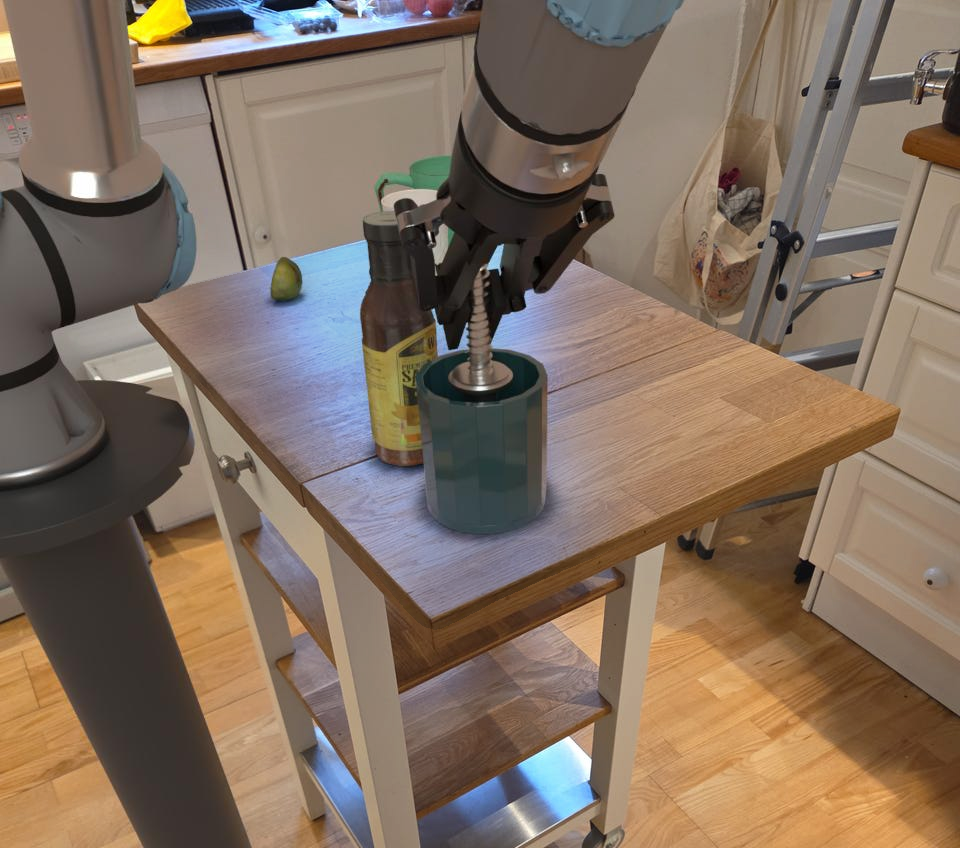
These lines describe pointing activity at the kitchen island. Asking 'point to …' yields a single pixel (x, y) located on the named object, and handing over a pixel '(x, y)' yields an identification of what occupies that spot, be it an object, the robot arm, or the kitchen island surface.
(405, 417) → the sauce bottle
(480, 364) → the screw
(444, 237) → the white cup
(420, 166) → the mug
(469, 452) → the crock
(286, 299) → the lime
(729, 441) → the kitchen island surface
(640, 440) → the kitchen island surface
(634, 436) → the kitchen island surface
